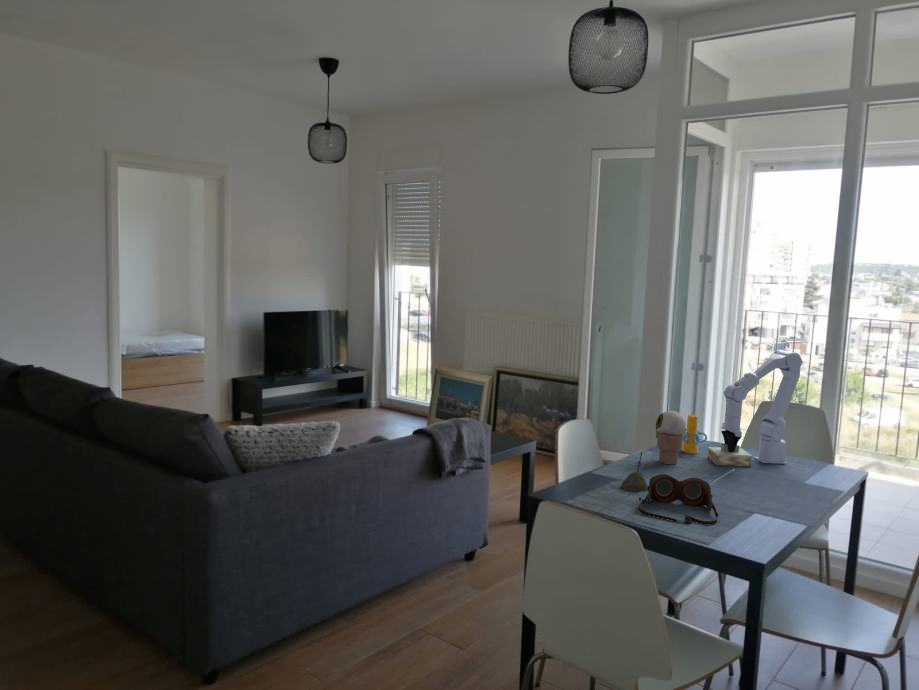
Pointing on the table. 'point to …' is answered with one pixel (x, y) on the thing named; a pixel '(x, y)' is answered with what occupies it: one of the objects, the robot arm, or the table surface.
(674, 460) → the ice cream cone
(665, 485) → the goggles
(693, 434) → the yellow post with rings
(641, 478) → the sword in stone
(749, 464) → the crate
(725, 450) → the lid
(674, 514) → the table surface
